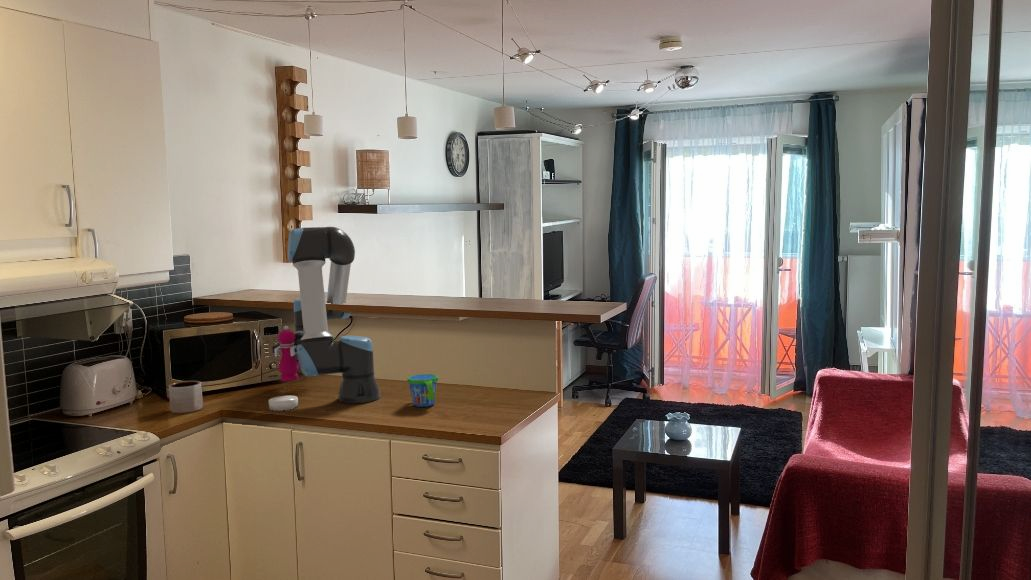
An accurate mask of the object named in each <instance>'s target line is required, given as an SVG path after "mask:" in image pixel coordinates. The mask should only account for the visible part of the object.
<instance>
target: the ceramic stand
mask: <svg viewBox="0 0 1031 580" xmlns="http://www.w3.org/2000/svg"><path fill="white" fill-rule="evenodd" d="M297 406H298V407H299V398H298V396H296V395H279V396H275V397H271V398H269V399H268V409H269V410H270V411H272V410H273V412H274V411H275V412H282V411H283V410H285V411H289V410H290V409H291V410H294V409H296V408H295V407H297ZM298 407H297V408H298ZM293 408H294V409H293ZM291 410H290V411H291ZM283 412H284V411H283Z"/></svg>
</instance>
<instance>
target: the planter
mask: <svg viewBox="0 0 1031 580" xmlns="http://www.w3.org/2000/svg"><path fill="white" fill-rule="evenodd" d="M168 392H169V393H168V394H169V408H170V409H169V410H170V412H171V413H174V414H178V413H182V414H189V413H194V412H198V411H201V410H202V409H203V408H204V400H203V391H202V381H199V380H184V381H183V380H182V381H177V382H174V383H170V384H169V385H168Z"/></svg>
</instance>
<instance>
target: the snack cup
mask: <svg viewBox="0 0 1031 580" xmlns="http://www.w3.org/2000/svg"><path fill="white" fill-rule="evenodd" d="M406 379H407V383H408V384H409V389H410V395H411V400H412V403H413V405H414V406H415V407H419V408H422V407H423V408H425V407H431V406H433V405H435V404H436V393H437V382H438V381H439V376H438V375H437V374H434V373H420V374H413V375H411V376H408V377H407V378H406Z"/></svg>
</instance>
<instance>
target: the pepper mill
mask: <svg viewBox="0 0 1031 580" xmlns="http://www.w3.org/2000/svg"><path fill="white" fill-rule="evenodd" d="M294 333H295V331H293V330H290V329H289V326H287V325H285V326H283V330H281V331H280V332H279V333H278V336H277V340H278V342H281V344H280V348H281V349H282V353H281V358H280V361H279V362H278V371H279V373H280V381H281V382H291V381H292V382H293V381H296V380H298V379H299V373H297V372H298V371H299V369H300V365H299V361H298V359H297V358H296V356H295V355H293V356H291V353H290V349H291V348H292V347H293V346H294V343H293V341H294V340H295V334H294Z"/></svg>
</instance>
